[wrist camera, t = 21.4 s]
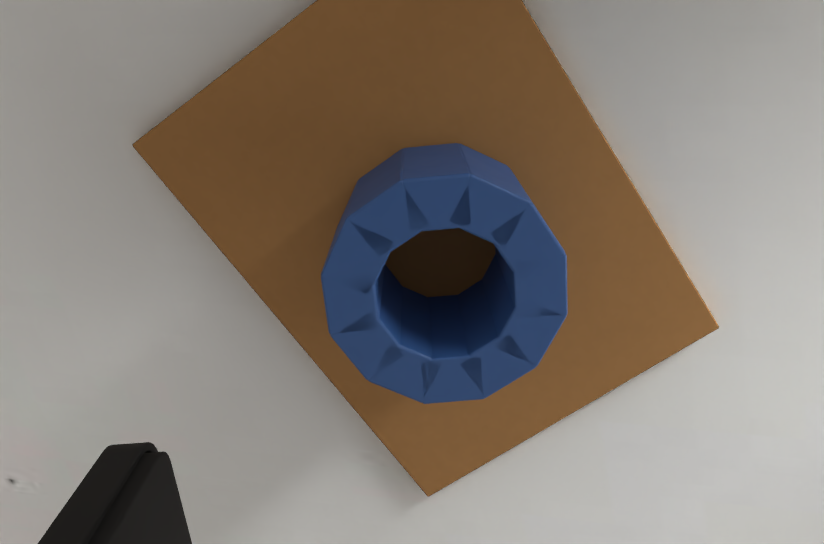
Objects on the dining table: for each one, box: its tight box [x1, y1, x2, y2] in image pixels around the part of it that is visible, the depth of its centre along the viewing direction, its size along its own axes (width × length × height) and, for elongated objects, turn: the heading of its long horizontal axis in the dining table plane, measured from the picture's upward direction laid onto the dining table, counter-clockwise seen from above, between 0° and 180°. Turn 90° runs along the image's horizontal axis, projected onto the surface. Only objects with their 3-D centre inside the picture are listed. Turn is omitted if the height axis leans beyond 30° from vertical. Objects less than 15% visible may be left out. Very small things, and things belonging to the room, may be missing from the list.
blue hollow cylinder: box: [321, 143, 568, 404], centre depth 20 cm, size 6×6×4 cm
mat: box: [133, 0, 719, 496], centre depth 23 cm, size 16×12×1 cm
